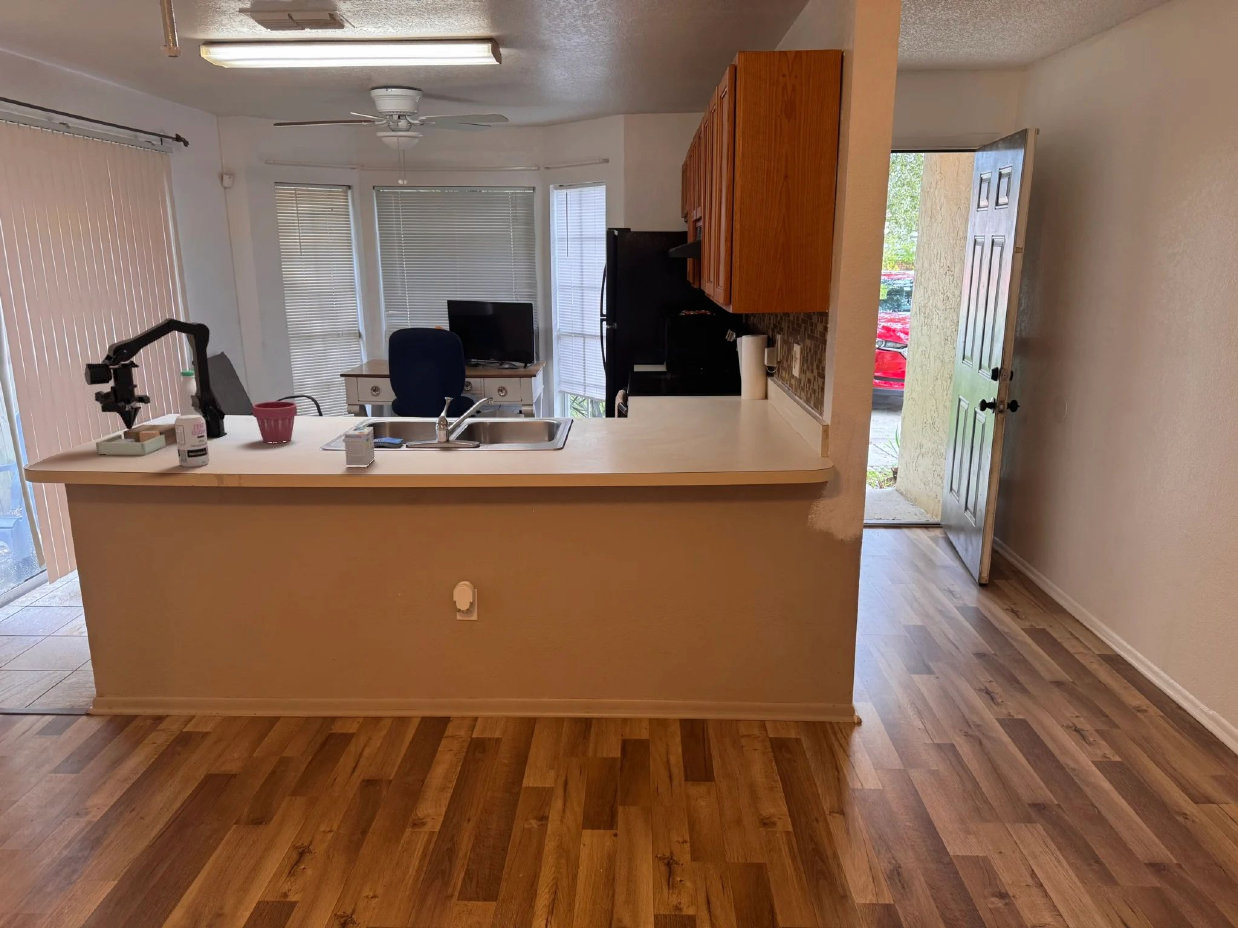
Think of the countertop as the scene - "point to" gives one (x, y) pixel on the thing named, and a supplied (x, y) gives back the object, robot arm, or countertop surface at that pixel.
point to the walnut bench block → (163, 430)
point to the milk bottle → (187, 393)
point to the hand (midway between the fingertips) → (129, 429)
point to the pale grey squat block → (125, 440)
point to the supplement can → (191, 440)
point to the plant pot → (275, 420)
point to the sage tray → (129, 446)
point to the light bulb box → (359, 446)
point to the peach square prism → (148, 435)
